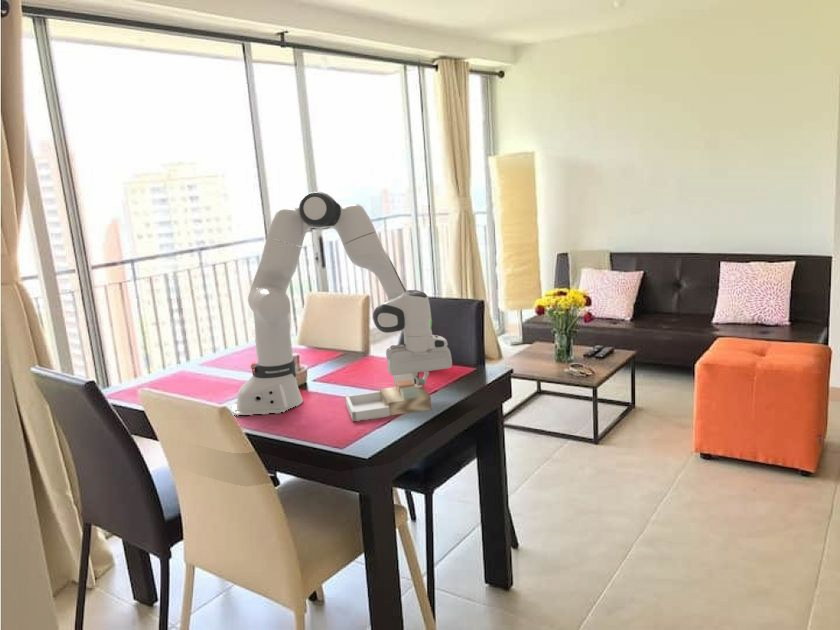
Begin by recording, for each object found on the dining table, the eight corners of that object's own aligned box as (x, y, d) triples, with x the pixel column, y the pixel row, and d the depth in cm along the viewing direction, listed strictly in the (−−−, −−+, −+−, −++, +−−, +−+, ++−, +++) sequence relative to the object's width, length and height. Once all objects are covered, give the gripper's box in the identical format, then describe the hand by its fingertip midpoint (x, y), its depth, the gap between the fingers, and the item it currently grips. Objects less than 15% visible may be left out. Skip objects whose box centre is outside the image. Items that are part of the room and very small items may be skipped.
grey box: (353, 422, 195) (352, 412, 194) (346, 404, 210) (345, 395, 209) (389, 416, 197) (389, 407, 196) (380, 400, 212) (379, 391, 212)
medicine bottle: (415, 389, 220) (412, 354, 217) (394, 389, 221) (391, 355, 219) (419, 383, 227) (417, 349, 224) (399, 383, 228) (396, 349, 226)
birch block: (389, 415, 198) (388, 402, 197) (380, 401, 211) (379, 389, 210) (431, 409, 201) (430, 396, 200) (420, 395, 214) (419, 383, 213)
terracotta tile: (399, 392, 206) (398, 386, 205) (396, 387, 210) (395, 381, 210) (414, 390, 207) (414, 384, 206) (411, 385, 212) (410, 379, 211)
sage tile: (404, 399, 199) (403, 393, 199) (400, 394, 204) (400, 388, 203) (420, 397, 200) (419, 390, 200) (416, 392, 205) (415, 385, 204)
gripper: (387, 348, 202) (390, 392, 204) (452, 340, 206) (454, 383, 209) (383, 343, 208) (386, 386, 210) (446, 336, 212) (449, 377, 215)
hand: (421, 384), depth 210 cm, fingers closed
